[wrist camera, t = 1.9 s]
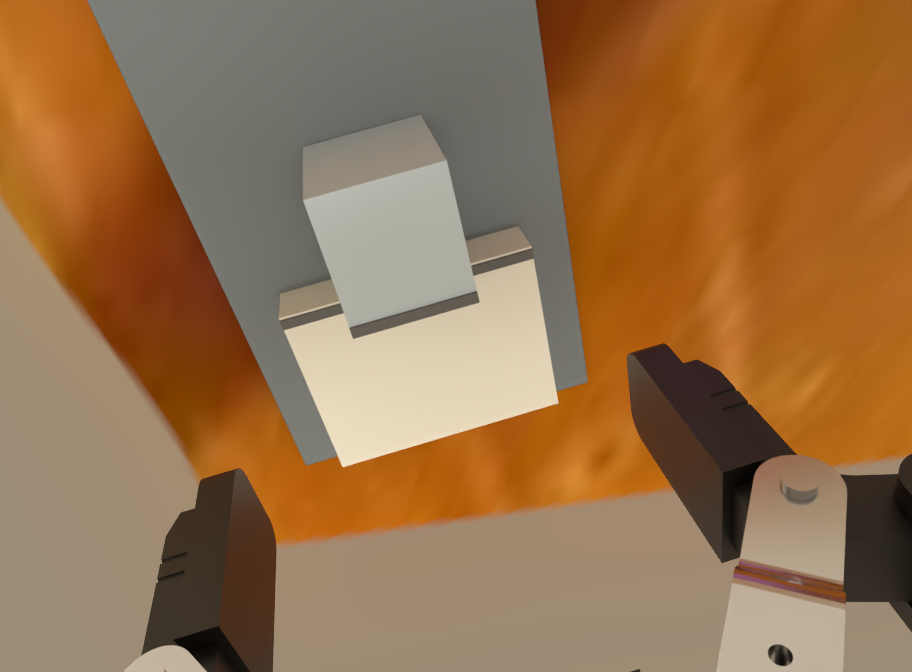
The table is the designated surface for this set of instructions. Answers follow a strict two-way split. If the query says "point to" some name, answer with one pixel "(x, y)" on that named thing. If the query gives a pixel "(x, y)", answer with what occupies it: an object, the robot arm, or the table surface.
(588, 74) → the table surface
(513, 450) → the table surface
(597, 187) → the table surface
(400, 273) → the stub
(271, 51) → the pad
